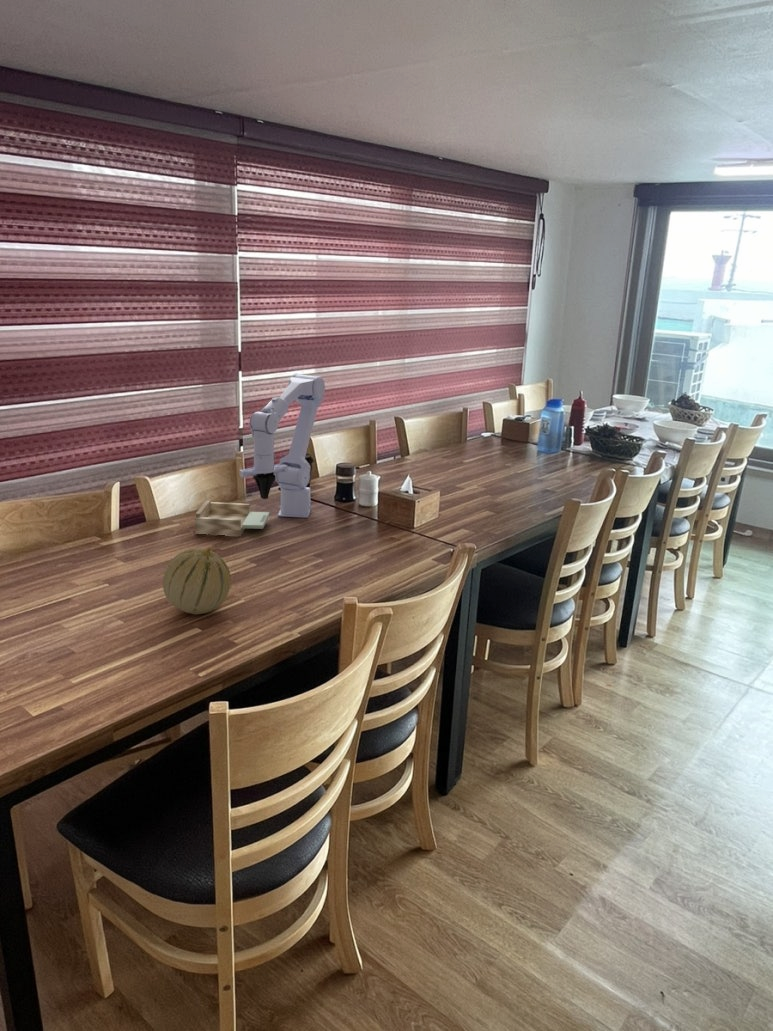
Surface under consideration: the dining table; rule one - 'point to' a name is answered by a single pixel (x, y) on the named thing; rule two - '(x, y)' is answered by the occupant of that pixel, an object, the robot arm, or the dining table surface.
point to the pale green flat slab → (256, 520)
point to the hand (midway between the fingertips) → (264, 497)
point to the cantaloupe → (196, 581)
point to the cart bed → (221, 518)
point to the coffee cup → (310, 461)
